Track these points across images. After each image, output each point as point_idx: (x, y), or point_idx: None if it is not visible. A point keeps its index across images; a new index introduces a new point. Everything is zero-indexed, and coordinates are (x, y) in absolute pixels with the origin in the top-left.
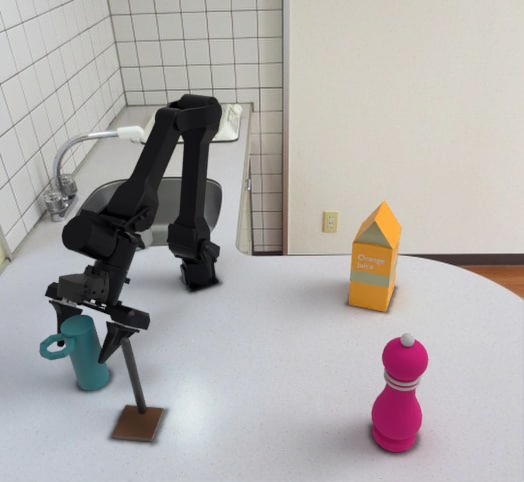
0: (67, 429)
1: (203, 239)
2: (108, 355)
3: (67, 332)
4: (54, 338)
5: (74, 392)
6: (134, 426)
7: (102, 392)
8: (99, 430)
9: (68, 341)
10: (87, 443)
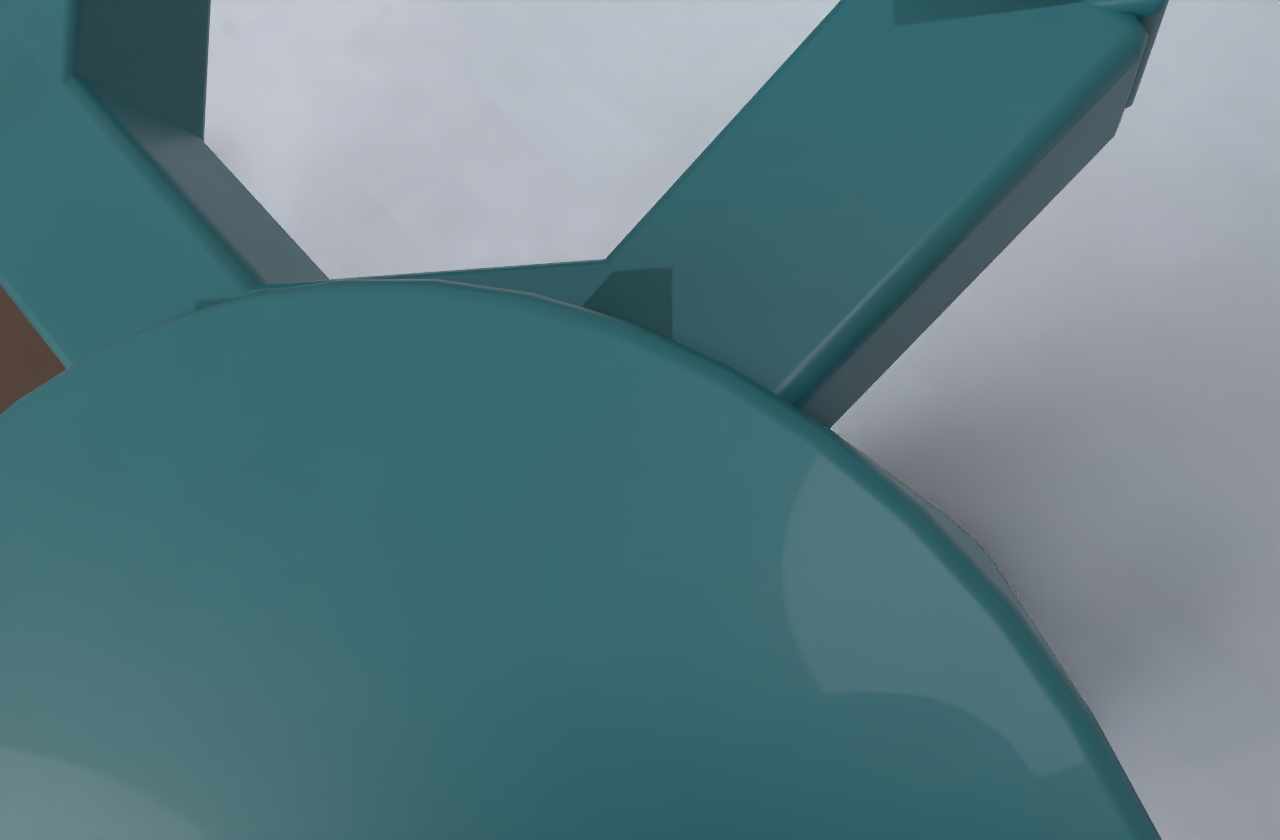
0: (581, 13)
1: None
2: None
3: (295, 412)
4: (839, 25)
5: (900, 395)
6: (29, 333)
7: None
8: (316, 173)
9: (158, 177)
10: (318, 21)
